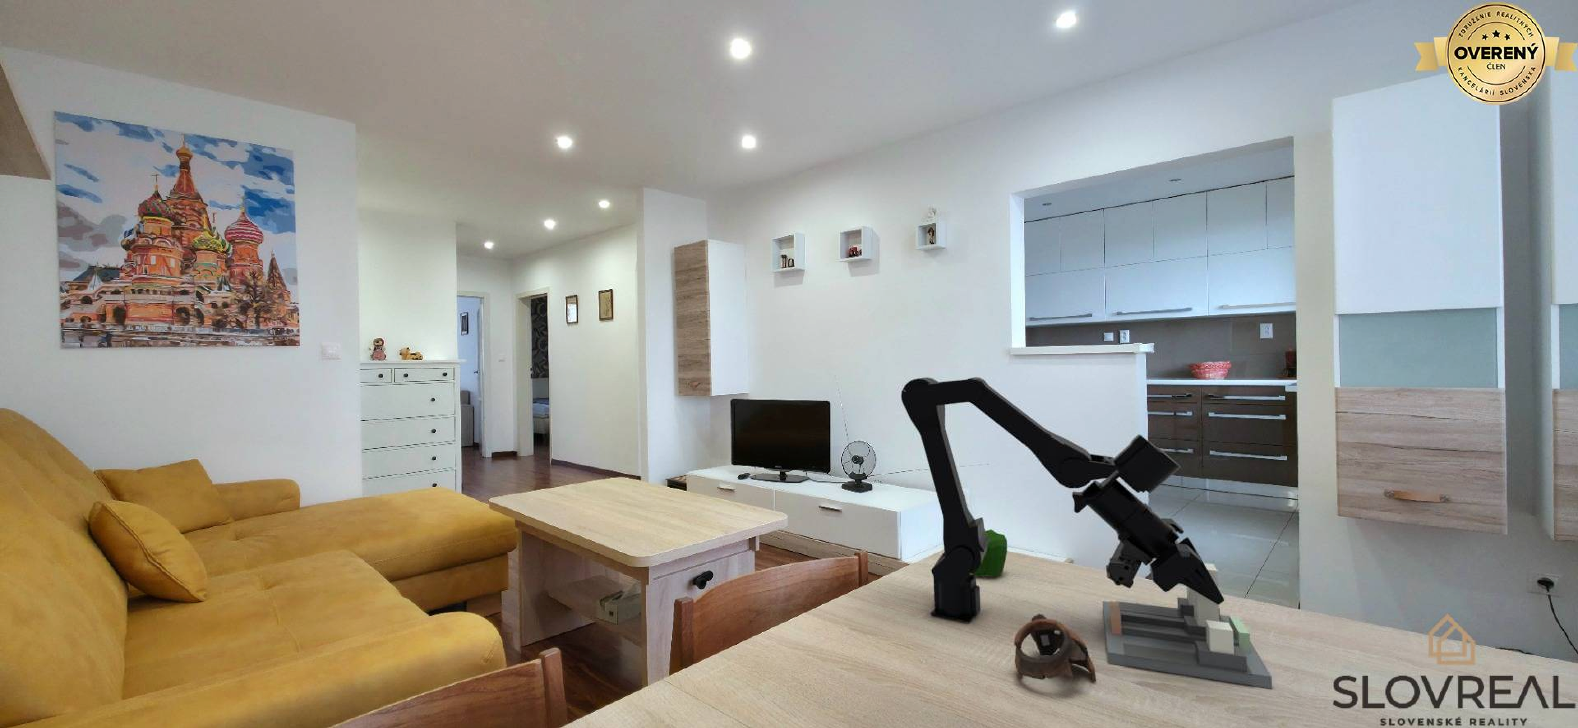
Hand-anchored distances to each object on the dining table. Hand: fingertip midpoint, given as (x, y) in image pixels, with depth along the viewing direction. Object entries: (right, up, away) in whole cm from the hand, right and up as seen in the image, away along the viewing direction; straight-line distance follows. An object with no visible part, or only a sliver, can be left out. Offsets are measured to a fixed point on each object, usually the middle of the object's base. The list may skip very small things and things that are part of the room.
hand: (1218, 597), depth 86 cm
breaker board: (-5, -8, +2) cm, 9 cm away
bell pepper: (-22, -8, +34) cm, 41 cm away
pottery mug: (-25, -9, -4) cm, 27 cm away
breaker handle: (-1, -6, +1) cm, 6 cm away
